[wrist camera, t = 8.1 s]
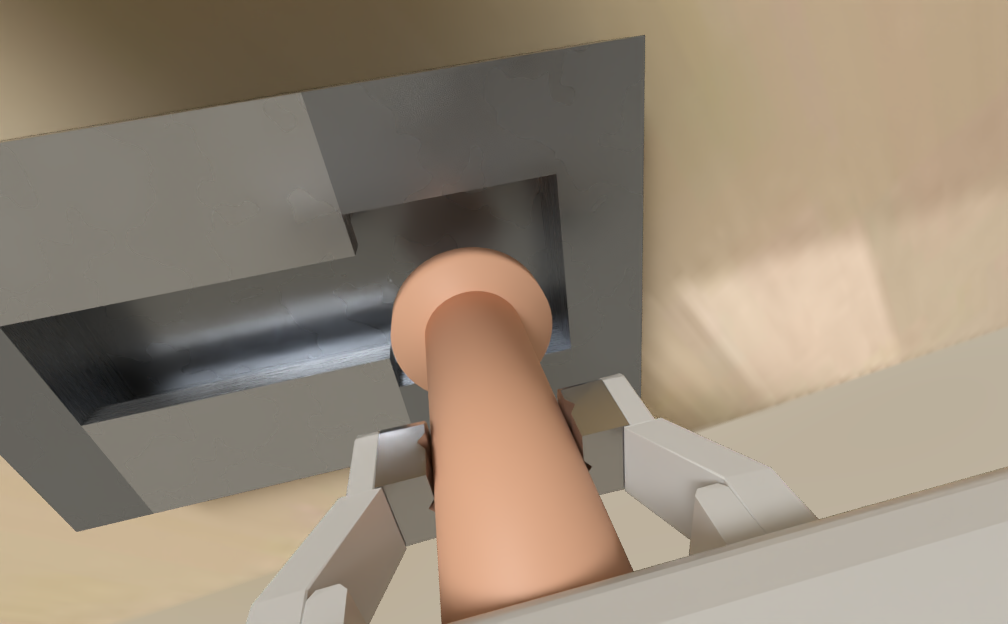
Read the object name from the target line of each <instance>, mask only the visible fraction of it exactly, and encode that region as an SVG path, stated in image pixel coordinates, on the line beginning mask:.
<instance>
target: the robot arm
mask: <svg viewBox="0 0 1008 624" xmlns="http://www.w3.org/2000/svg"><path fill="white" fill-rule="evenodd" d="M557 398H558V404H559V406H560V409H561V411H562V413H563V415H564V418H565V420H566V422H567V424H568V427H569V429H570V431H571V433H572V436H573V438H574V440H575V442H576V444H577V447H578V449H579V451H580V453H581V456H582V458H583V460H584V462H585V464H586V467H587V469H588V471H589V473H590V476H591V478H592V480H593V482H594V484H595V487H596V489H597V491H598V493H599V495H601V494H606V493H610V492H614V491H618V490H623V489H625V491H626V492H627V493H628V494H630V495H631V496H633V497H634V498H635V499H636V500H638V501H639V502H640V503H642V504H643V505H644V506H646V507H647V508H648V509H650V510H651V511H652V512H654V513H655V514H656V515H658V516H659V517H660V518H662V519H663V520H664V521H666V522H667V523H669V524H670V525H671V526H672V527H674V528H675V529H676V530H678V531H679V532H680V533H682V534H683V535H685V536H686V537H687V538H688V539H690V549H689V556H687V557H684V558H680V559H677V560H673V561H669V562H666V563H662V564H658V565H655V566H651V567H648V568H644V569H641V570H637V571H634V572H630V573H627V574H623V575H619V576H616V577H612V578H609V579H605V580H602V581H598V582H595V583H591V584H588V585H584V586H580V587H577V588H573V589H570V590H566V591H562V592H559V593H555V594H552V595H548V596H545V597H541V598H537V599H534V600H530V601H527V602H523V603H519V604H516V605H512V606H509V607H505V608H502V609H498V610H494V611H491V612H487V613H484V614H480V615H476V616H473V617H469V618H466V619H462V620H459V621H455V622H451V623H448V624H1008V467H1005V468H1001V469H997V470H994V471H990V472H986V473H983V474H979V475H976V476H972V477H969V478H965V479H961V480H958V481H954V482H951V483H947V484H944V485H940V486H936V487H933V488H930V489H926V490H922V491H919V492H915V493H911V494H908V495H904V496H901V497H897V498H894V499H890V500H887V501H883V502H879V503H876V504H872V505H869V506H865V507H862V508H858V509H854V510H851V511H847V512H844V513H840V514H837V515H833V516H830V517H826V518H822V519H818V518H817V517H816V516H815V515H814V514H813V513H812V512H811V510H810V509H809V508H808V507H807V506H806V505H805V504H804V503H803V502H802V500H801V499H800V498H799V497H798V496H797V495H796V494H795V493H794V492H793V491H792V490H791V489H790V487H789V486H788V485H787V484H786V483H785V482H784V481H783V480H782V479H781V477H780V476H778V474H777V473H776V472H775V471H774V470H773V469H772V468H771V467H769V466H767V465H765V464H763V463H760V462H758V461H756V460H754V459H752V458H749V457H747V456H745V455H743V454H740V453H738V452H736V451H734V450H732V449H730V448H727V447H725V446H723V445H721V444H718V443H716V442H714V441H712V440H709V439H707V438H705V437H703V436H701V435H699V434H696V433H694V432H692V431H690V430H688V429H685V428H683V427H681V426H679V425H677V424H674V423H672V422H670V421H668V420H666V419H663V418H658V419H655V418H654V417H653V415H652V414H651V413H650V411H649V410H648V408H647V407H646V406H645V404H644V403H643V401H642V400H641V399H640V397H639V396H638V394H637V393H636V392H635V390H634V389H633V387H632V386H631V385H630V383H629V382H628V381H627V379H626V378H625V376H624V375H622V374H620V373H619V374H615V375H611V376H607V377H603V378H600V379H597V380H593V381H589V382H585V383H581V384H577V385H573V386H569V387H565V388H561V389H558V390H557ZM433 538H437V536H436V519H435V502H434V484H433V468H432V450H431V435H430V431H429V428H428V425H427V423H426V421H421V422H417V423H412V424H407V425H403V426H398V427H393V428H389V429H384V430H381V431H376V432H372V433H367V434H363V435H358V436H357V438H356V439H355V441H354V447H353V454H352V461H351V467H350V474H349V481H348V487H347V494H346V496H345V497H341V498H339V499H338V500H337V501H336V502H335V504H334V505H333V506H332V507H331V508H330V510H329V511H328V512H327V513H326V515H325V516H324V517H323V518H322V519H321V521H320V522H319V523H318V524H317V526H316V527H315V528H314V529H313V530H312V532H311V533H310V534H309V535H308V537H307V538H306V539H305V540H304V541H303V543H302V544H301V545H300V546H299V547H298V549H297V550H296V551H295V552H294V554H293V555H292V556H291V557H290V558H289V560H288V561H287V562H286V563H285V565H284V566H283V567H282V568H281V569H280V571H279V572H278V573H277V574H276V576H275V577H274V578H273V579H272V580H271V582H270V583H269V584H268V585H267V587H266V588H265V589H264V590H263V591H262V593H261V594H260V595H259V596H258V598H257V599H256V600H255V601H254V602H253V604H252V605H251V608H250V612H249V615H248V618H247V622H246V624H369V623H370V621H371V619H372V617H373V615H374V613H375V611H376V609H377V607H378V605H379V603H380V601H381V599H382V597H383V595H384V593H385V591H386V589H387V587H388V585H389V583H390V581H391V579H392V577H393V575H394V573H395V571H396V569H397V567H398V565H399V563H400V561H401V559H402V557H403V555H404V553H405V551H406V546H409V545H413V544H416V543H419V542H423V541H426V540H430V539H433Z"/></svg>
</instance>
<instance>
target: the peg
mask: <svg viewBox="0 0 1008 624" xmlns="http://www.w3.org/2000/svg"><path fill="white" fill-rule="evenodd" d="M551 334H552V314H551V309H550V306H549V303H548V300H547V298H546V296H545V295H544V293H543V291H542V289H541V288H540V286H539V284H538V283H537V281H536V279H535V278H534V277H533V275H532V274H531V273H530V271H529V270H528V269H527V268H526V267H525V266H524V265H523V264H521V263H520V262H519V261H517V260H516V259H514V258H512V257H511V256H509V255H507V254H505V253H502V252H499V251H496V250H492V249H488V248H480V247H464V248H457V249H453V250H449V251H445V252H443V253H440V254H438V255H435V256H433V257H432V258H430V259H428V260H426V261H425V262H423V263H422V264H421V265H419V266H418V267H417V268H416V269H415V270H414V271H413V272H412V273H411V274H410V275H409V276H408V277H407V278H406V280H405V281H404V282H403V284H402V286H401V287H400V289H399V291H398V293H397V296H396V298H395V301H394V305H393V309H392V322H391V345H392V349H393V353H394V355H395V358H396V360H397V362H398V364H399V366H400V367H401V369H402V370H403V372H404V373H405V374H406V375H407V377H409V378H410V379H411V380H412V381H413V382H414V383H415V384H417V385H418V386H420V387H421V388H423V389H424V390H426V391H428V400H429V417H430V434H431V450H432V468H433V484H434V502H435V519H436V536H437V550H438V551H437V552H438V570H439V586H440V602H441V603H440V604H441V621H442V624H448V623H451V622H455V621H459V620H462V619H466V618H469V617H473V616H476V615H480V614H484V613H487V612H491V611H494V610H498V609H502V608H505V607H509V606H512V605H516V604H519V603H523V602H527V601H530V600H534V599H537V598H541V597H545V596H548V595H552V594H555V593H559V592H562V591H566V590H570V589H573V588H577V587H580V586H584V585H588V584H591V583H595V582H598V581H602V580H605V579H609V578H612V577H616V576H619V575H623V574H627V573H630V572H634V571H633V569H632V567H631V565H630V563H629V560H628V558H627V556H626V554H625V551H624V549H623V547H622V545H621V542H620V540H619V538H618V536H617V533H616V531H615V529H614V527H613V525H612V523H611V520H610V518H609V516H608V513H607V511H606V509H605V507H604V505H603V502H602V500H601V498H600V496H599V493H598V491H597V489H596V487H595V484H594V482H593V480H592V478H591V476H590V473H589V471H588V469H587V467H586V464H585V462H584V460H583V458H582V456H581V453H580V451H579V449H578V447H577V444H576V442H575V440H574V438H573V436H572V433H571V431H570V429H569V427H568V424H567V422H566V420H565V418H564V415H563V413H562V411H561V409H560V407H559V404H558V402H557V400H556V398H555V395H554V393H553V391H552V389H551V387H550V384H549V382H548V380H547V378H546V375H545V373H544V371H543V369H542V367H541V364H540V362H541V360H542V358H543V357H544V355H545V353H546V351H547V348H548V346H549V343H550V339H551Z"/></svg>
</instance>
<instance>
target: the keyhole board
mask: <svg viewBox="0 0 1008 624" xmlns="http://www.w3.org/2000/svg"><path fill="white" fill-rule="evenodd" d="M644 77H645V35H642V36H634V37H626V38H619V39H611V40H604V41H597V42H591V43H585V44H579V45H573V46H567V47H561V48H555V49H549V50H543V51H537V52H531V53H525V54H519V55H513V56H507V57H501V58H495V59H489V60H483V61H477V62H471V63H465V64H459V65H453V66H447V67H441V68H435V69H429V70H423V71H417V72H411V73H405V74H399V75H393V76H387V77H381V78H375V79H369V80H363V81H357V82H351V83H345V84H339V85H333V86H327V87H321V88H315V89H309V90H303V91H297V92H291V93H285V94H279V95H273V96H267V97H261V98H255V99H249V100H243V101H237V102H231V103H225V104H219V105H213V106H207V107H201V108H195V109H189V110H183V111H177V112H171V113H165V114H159V115H153V116H147V117H141V118H135V119H129V120H123V121H117V122H111V123H105V124H99V125H93V126H87V127H81V128H75V129H69V130H63V131H57V132H51V133H45V134H39V135H33V136H27V137H21V138H15V139H9V140H3V141H0V455H1V456H2V457H3V458H4V459H5V460H6V461H7V462H8V463H9V464H10V465H11V466H12V467H13V468H14V469H15V470H16V471H17V472H18V473H19V474H20V475H21V476H22V477H23V478H24V479H25V480H26V481H27V482H28V483H29V484H30V485H31V486H32V487H33V488H34V489H35V490H36V491H37V492H38V493H39V494H40V495H41V496H42V498H43V499H44V500H45V501H46V502H47V503H48V504H49V505H50V506H51V507H52V508H53V509H54V510H55V511H56V512H57V513H58V514H59V515H60V516H61V517H62V518H63V519H64V520H65V521H66V522H67V523H68V524H69V525H70V526H71V527H72V528H73V529H74V530H75V531H76V532H78V531H82V530H86V529H91V528H95V527H99V526H103V525H108V524H112V523H116V522H120V521H124V520H129V519H133V518H137V517H141V516H145V515H150V514H154V513H158V512H162V511H167V510H171V509H175V508H179V507H183V506H188V505H192V504H196V503H200V502H204V501H209V500H213V499H217V498H221V497H225V496H230V495H234V494H238V493H242V492H247V491H251V490H255V489H259V488H263V487H268V486H272V485H276V484H280V483H284V482H289V481H293V480H297V479H301V478H306V477H310V476H314V475H318V474H322V473H327V472H331V471H335V470H339V469H343V468H348V467H351V461H352V454H353V447H354V441H355V439H356V438H357V436H358V435H363V434H367V433H372V432H376V431H381V430H384V429H389V428H393V427H398V426H403V425H407V424H412V423H417V422H421V421H426V423H427V425H428V428H429V431H430V417H429V400H428V391H426V390H424V389H423V388H421V387H420V386H418V385H417V384H415V383H414V382H413V381H412V380H411V379H410V378H409V377H407V375H406V374H405V373H404V372H403V370H402V369H401V367H400V366H399V364H398V362H397V360H396V358H395V355H394V353H393V349H392V345H391V322H392V309H393V305H394V301H395V298H396V296H397V293H398V291H399V289H400V287H401V286H402V284H403V282H404V281H405V280H406V278H407V277H408V276H409V275H410V274H411V273H412V272H413V271H414V270H415V269H416V268H417V267H418V266H419V265H421V264H422V263H423V262H425V261H426V260H428V259H430V258H432V257H433V256H435V255H438V254H440V253H443V252H445V251H449V250H453V249H457V248H464V247H480V248H488V249H492V250H496V251H499V252H502V253H505V254H507V255H509V256H511V257H512V258H514V259H516V260H517V261H519V262H520V263H521V264H523V265H524V266H525V267H526V268H527V269H528V270H529V271H530V273H531V274H532V275H533V277H534V278H535V279H536V281H537V283H538V284H539V286H540V288H541V289H542V291H543V293H544V295H545V296H546V298H547V300H548V303H549V306H550V309H551V314H552V334H551V339H550V343H549V346H548V348H547V351H546V353H545V355H544V357H543V358H542V360H541V362H540V364H541V367H542V369H543V371H544V373H545V375H546V378H547V380H548V382H549V384H550V387H551V389H552V391H553V393H554V395H555V398H556V400H557V402H558V398H557V390H558V389H561V388H565V387H569V386H573V385H577V384H581V383H585V382H589V381H593V380H597V379H600V378H603V377H607V376H611V375H615V374H619V373H620V374H622V375H624V376H625V378H626V379H627V381H628V382H629V383H630V385H631V386H632V387H633V389H634V390H635V392H636V393H637V394H638V396H639V397H640V398H641V341H642V253H643V165H644ZM559 407H560V406H559ZM430 435H431V434H430Z"/></svg>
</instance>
